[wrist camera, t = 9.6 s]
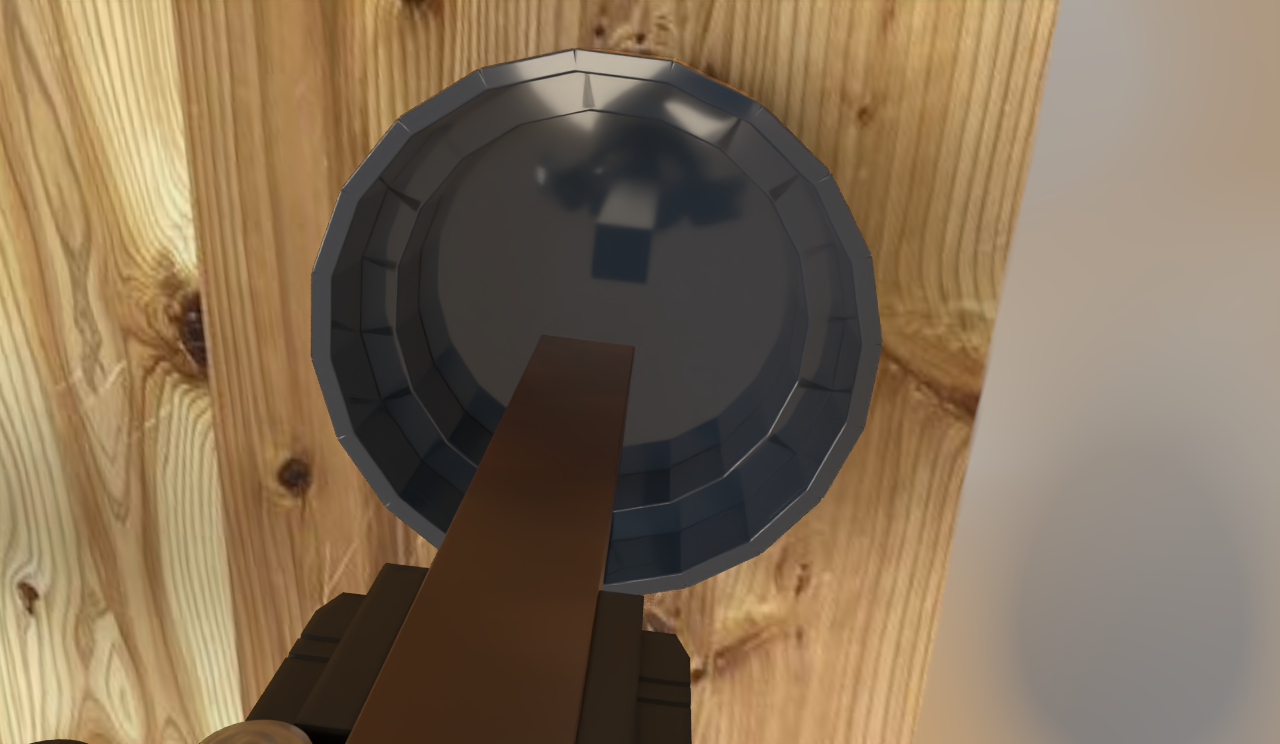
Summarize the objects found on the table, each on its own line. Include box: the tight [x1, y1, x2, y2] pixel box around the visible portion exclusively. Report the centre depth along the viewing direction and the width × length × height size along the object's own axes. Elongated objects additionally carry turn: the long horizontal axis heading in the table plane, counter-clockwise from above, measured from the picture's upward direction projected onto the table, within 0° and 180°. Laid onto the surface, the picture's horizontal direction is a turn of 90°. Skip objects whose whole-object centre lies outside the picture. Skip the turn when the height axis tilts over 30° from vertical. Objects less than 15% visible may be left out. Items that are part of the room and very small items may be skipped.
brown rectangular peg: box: [345, 335, 635, 744], centre depth 17 cm, size 2×2×16 cm
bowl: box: [311, 48, 882, 595], centre depth 30 cm, size 16×16×6 cm
